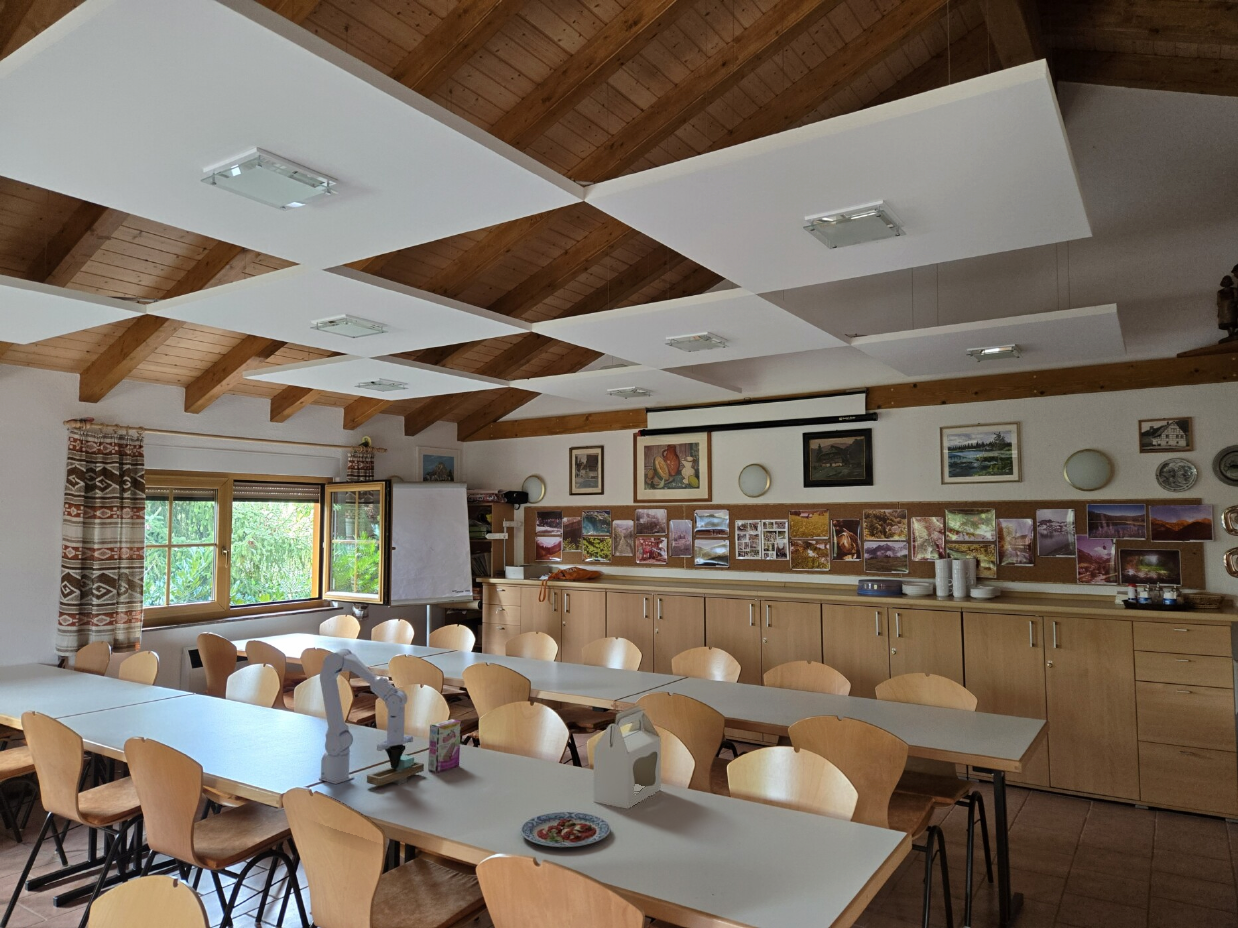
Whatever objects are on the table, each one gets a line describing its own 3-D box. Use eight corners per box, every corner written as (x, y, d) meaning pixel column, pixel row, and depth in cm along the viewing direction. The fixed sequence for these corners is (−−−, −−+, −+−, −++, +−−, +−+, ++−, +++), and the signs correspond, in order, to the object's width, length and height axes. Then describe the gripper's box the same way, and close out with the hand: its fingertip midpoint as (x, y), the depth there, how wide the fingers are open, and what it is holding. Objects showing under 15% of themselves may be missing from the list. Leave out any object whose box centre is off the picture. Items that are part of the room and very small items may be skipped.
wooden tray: (365, 787, 271) (366, 774, 272) (410, 772, 288) (411, 760, 288) (379, 790, 268) (380, 778, 268) (424, 775, 284) (424, 763, 285)
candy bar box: (437, 773, 287) (438, 726, 288) (427, 770, 290) (428, 724, 291) (460, 765, 296) (461, 720, 297) (451, 763, 299) (452, 718, 300)
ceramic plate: (563, 812, 250) (564, 802, 250) (628, 833, 233) (628, 823, 233) (501, 837, 230) (501, 826, 230) (567, 862, 213) (567, 850, 214)
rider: (393, 771, 281) (394, 757, 281) (403, 767, 284) (403, 754, 285) (404, 773, 278) (404, 760, 278) (413, 770, 281) (414, 757, 282)
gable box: (627, 810, 252) (628, 718, 254) (592, 802, 259) (593, 713, 261) (661, 790, 271) (661, 705, 273) (627, 783, 278) (628, 700, 280)
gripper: (387, 733, 270) (386, 774, 269) (419, 724, 283) (418, 764, 282) (373, 730, 274) (371, 771, 273) (405, 721, 286) (404, 760, 285)
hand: (394, 767), depth 278 cm, fingers closed
